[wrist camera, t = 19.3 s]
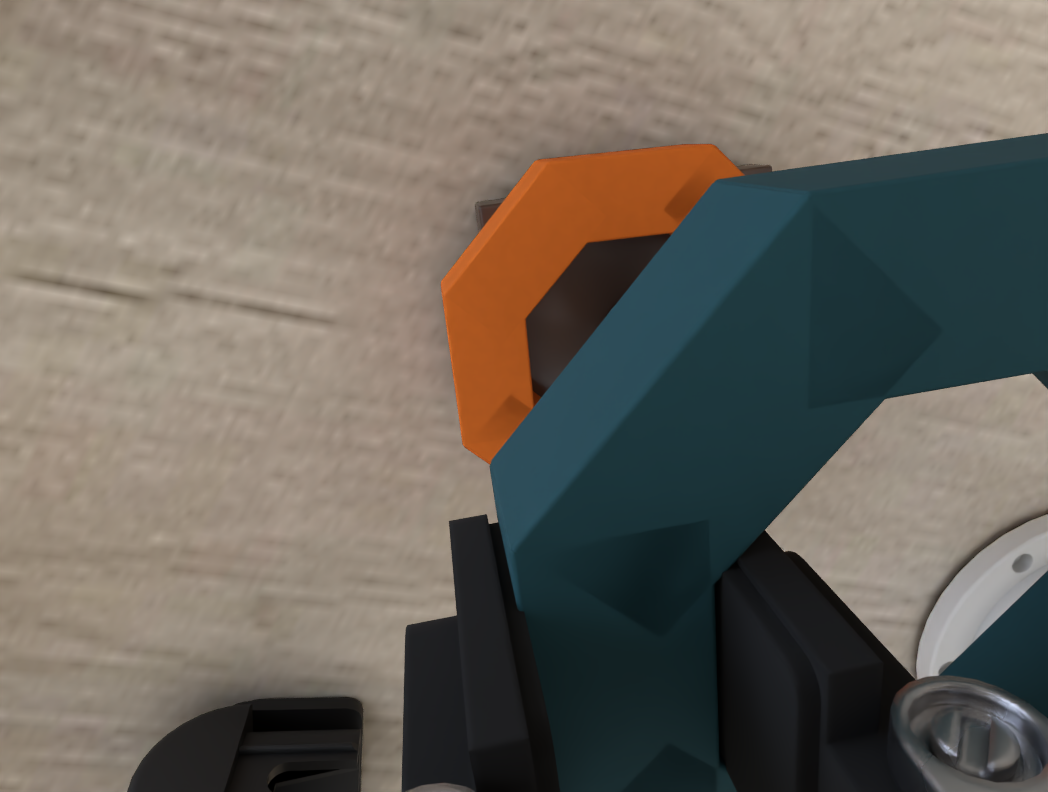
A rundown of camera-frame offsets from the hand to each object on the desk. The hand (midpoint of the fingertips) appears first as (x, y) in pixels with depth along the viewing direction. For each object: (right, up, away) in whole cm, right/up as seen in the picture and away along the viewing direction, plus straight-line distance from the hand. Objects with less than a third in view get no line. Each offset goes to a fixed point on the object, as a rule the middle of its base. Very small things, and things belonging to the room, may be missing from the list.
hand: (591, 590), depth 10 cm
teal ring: (+4, +1, +1) cm, 4 cm away
